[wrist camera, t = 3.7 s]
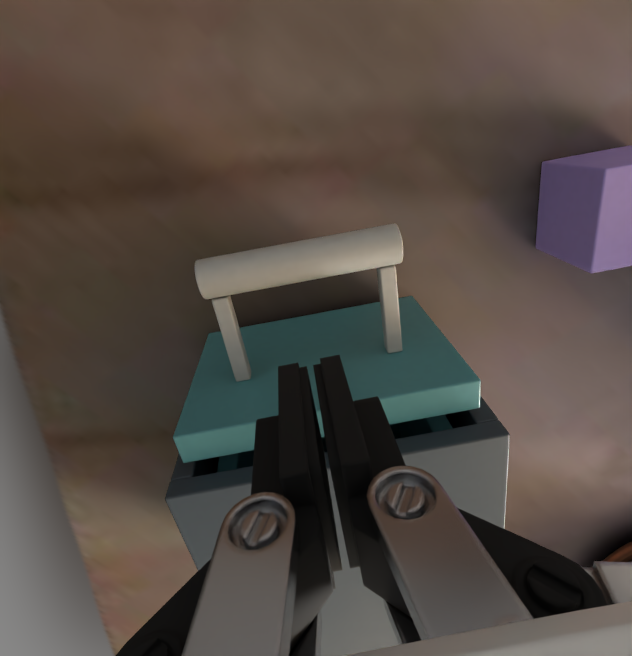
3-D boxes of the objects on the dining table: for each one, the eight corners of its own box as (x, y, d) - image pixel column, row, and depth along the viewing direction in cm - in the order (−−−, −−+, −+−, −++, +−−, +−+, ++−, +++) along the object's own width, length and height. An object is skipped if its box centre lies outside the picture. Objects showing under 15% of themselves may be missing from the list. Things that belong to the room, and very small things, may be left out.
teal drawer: (177, 237, 18) (115, 302, 11) (405, 194, 18) (484, 233, 11) (266, 516, 26) (262, 655, 19) (424, 486, 26) (477, 615, 19)
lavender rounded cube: (541, 161, 19) (605, 168, 15) (629, 145, 19) (715, 148, 15) (534, 248, 21) (590, 274, 17) (615, 233, 21) (689, 256, 17)
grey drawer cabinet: (208, 355, 22) (163, 498, 13) (420, 315, 22) (511, 434, 13) (267, 534, 28) (262, 709, 20) (430, 504, 28) (497, 665, 20)
